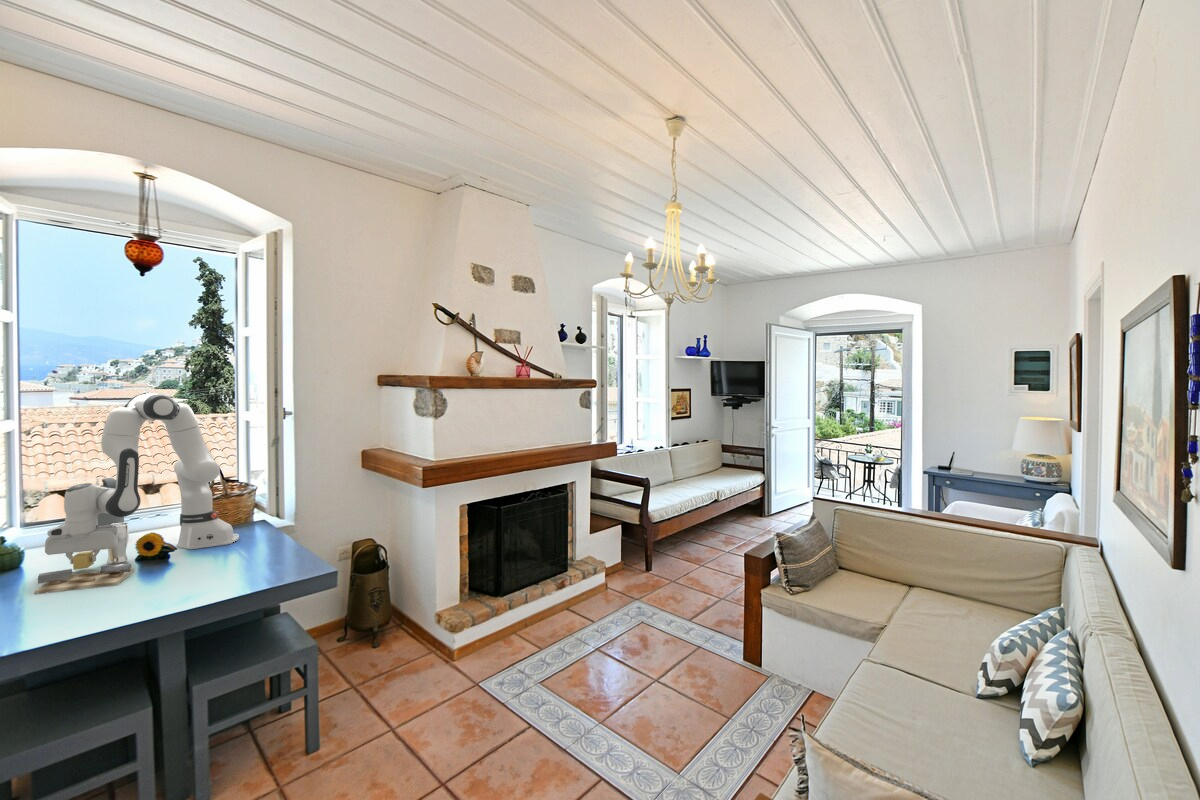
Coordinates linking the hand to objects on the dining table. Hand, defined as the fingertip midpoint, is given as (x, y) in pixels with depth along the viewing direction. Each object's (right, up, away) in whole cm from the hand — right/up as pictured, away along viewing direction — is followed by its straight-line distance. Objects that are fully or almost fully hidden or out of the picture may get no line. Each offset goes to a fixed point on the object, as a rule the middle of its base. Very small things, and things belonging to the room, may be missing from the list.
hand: (83, 562), depth 198 cm
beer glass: (+4, -3, +10) cm, 11 cm away
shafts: (+12, -2, -11) cm, 16 cm away
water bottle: (-23, -2, +35) cm, 41 cm away
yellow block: (0, -2, 0) cm, 2 cm away
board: (+12, -4, -10) cm, 16 cm away
